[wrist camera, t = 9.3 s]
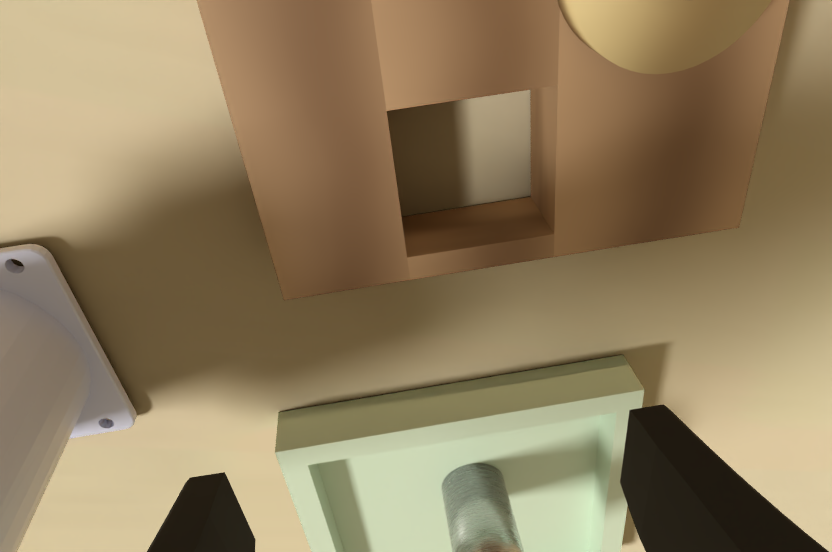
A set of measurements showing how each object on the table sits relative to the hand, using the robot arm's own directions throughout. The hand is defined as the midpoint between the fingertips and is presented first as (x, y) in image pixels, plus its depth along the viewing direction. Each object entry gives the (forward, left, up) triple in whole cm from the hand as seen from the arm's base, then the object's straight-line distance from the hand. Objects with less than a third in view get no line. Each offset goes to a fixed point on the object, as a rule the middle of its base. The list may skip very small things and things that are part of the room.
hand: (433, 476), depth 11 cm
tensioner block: (+4, +5, -10) cm, 12 cm away
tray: (+2, -15, -10) cm, 18 cm away
